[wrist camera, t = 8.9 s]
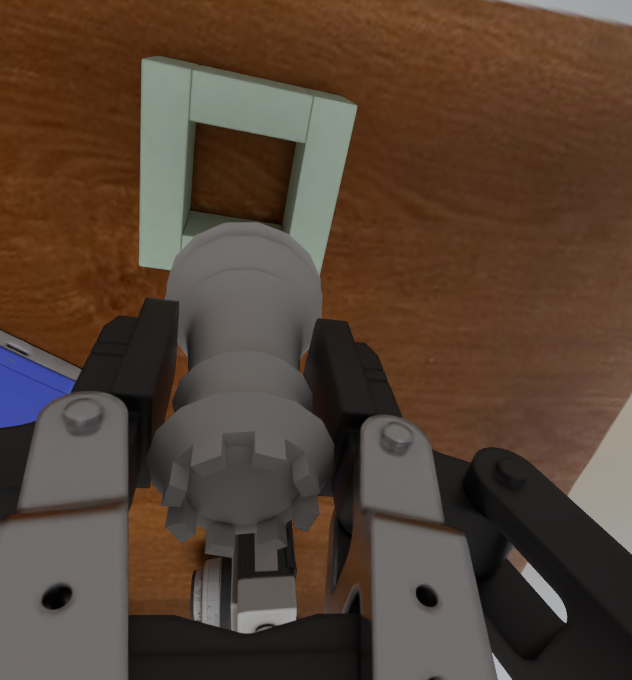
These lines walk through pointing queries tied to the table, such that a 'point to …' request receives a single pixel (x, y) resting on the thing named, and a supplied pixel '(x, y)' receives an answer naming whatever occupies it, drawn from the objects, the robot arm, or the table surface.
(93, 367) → the robot arm
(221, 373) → the rook chess piece
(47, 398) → the hard drive
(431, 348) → the table surface
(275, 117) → the socket
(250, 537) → the camera
